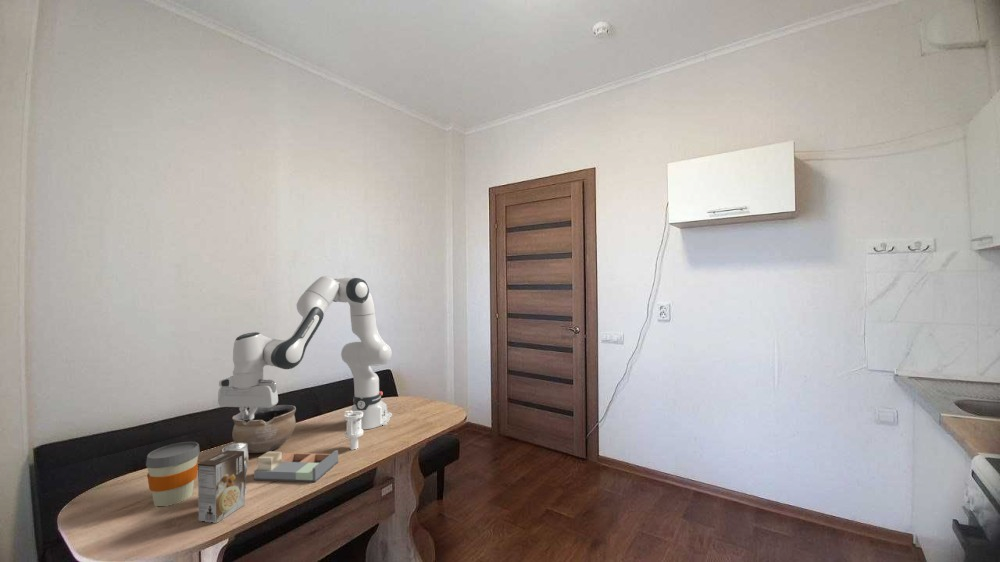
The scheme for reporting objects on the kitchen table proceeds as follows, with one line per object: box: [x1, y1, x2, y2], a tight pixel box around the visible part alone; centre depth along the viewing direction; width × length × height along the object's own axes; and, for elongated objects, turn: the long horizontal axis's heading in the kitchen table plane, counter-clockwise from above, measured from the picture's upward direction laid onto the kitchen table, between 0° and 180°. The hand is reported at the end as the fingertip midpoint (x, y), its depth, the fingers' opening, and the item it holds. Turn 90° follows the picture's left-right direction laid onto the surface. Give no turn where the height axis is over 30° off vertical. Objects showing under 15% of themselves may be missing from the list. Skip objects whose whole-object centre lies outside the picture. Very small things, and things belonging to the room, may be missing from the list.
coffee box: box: [197, 450, 246, 524], centre depth 106 cm, size 9×6×16 cm
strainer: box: [343, 410, 364, 451], centre depth 148 cm, size 7×7×15 cm
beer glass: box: [221, 442, 249, 495], centre depth 115 cm, size 7×7×15 cm
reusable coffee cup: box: [145, 441, 201, 507], centre depth 114 cm, size 12×13×15 cm
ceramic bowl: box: [231, 404, 297, 454], centre depth 150 cm, size 22×22×15 cm
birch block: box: [257, 451, 283, 470], centre depth 127 cm, size 5×5×4 cm
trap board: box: [253, 449, 339, 483], centre depth 130 cm, size 14×22×4 cm, turn 84°
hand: (248, 419), depth 129 cm, fingers closed
